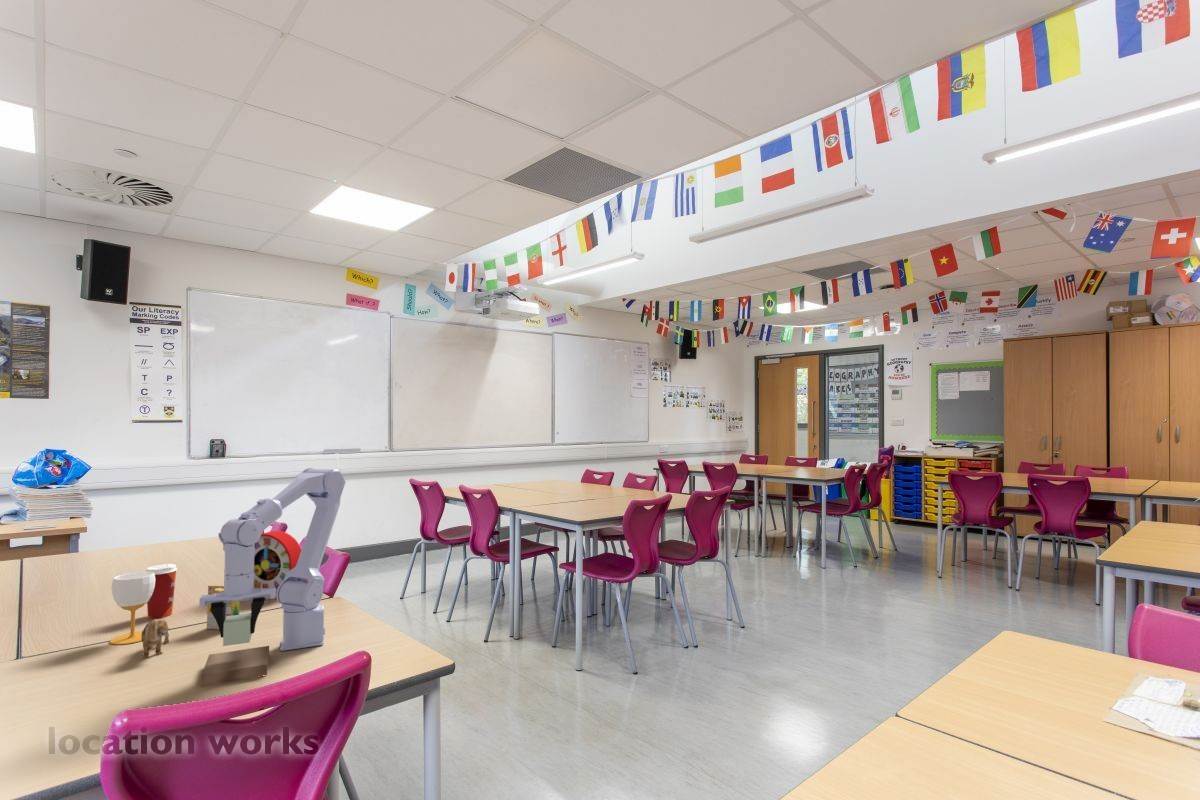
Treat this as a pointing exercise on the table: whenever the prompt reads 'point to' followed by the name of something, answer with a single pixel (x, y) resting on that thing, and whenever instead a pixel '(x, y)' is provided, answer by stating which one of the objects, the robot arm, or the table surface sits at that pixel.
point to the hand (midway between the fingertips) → (237, 634)
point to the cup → (132, 599)
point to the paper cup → (162, 591)
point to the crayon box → (231, 608)
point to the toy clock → (274, 558)
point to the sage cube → (237, 629)
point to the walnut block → (235, 666)
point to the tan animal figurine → (154, 636)
